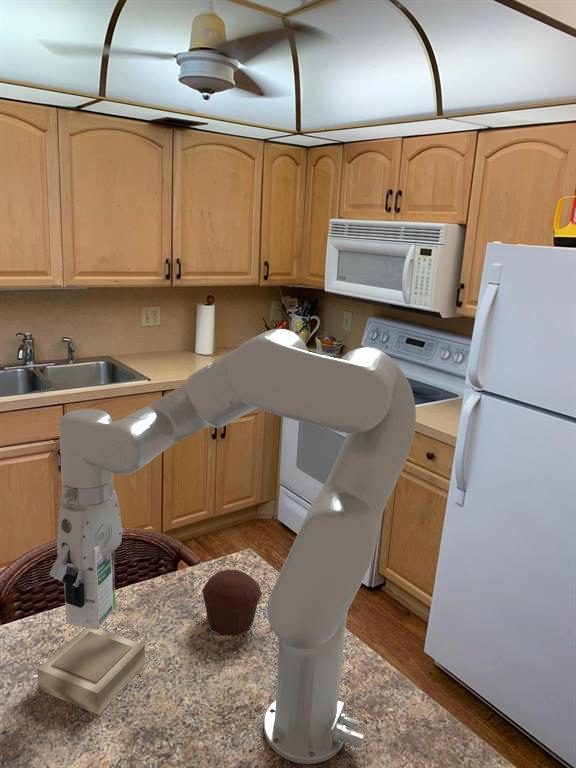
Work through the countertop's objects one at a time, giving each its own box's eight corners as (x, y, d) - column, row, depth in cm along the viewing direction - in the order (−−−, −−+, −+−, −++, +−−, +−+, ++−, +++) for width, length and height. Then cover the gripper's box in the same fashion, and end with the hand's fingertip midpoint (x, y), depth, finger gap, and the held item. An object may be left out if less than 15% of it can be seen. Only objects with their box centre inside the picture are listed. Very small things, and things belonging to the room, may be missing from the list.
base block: (144, 664, 100) (144, 643, 99) (98, 715, 89) (98, 692, 88) (89, 644, 104) (88, 624, 103) (38, 689, 93) (37, 667, 92)
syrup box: (98, 631, 90) (96, 548, 87) (64, 624, 92) (61, 542, 88) (116, 609, 96) (115, 530, 92) (83, 603, 97) (81, 525, 93)
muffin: (190, 616, 113) (191, 571, 111) (236, 596, 120) (238, 554, 118) (224, 650, 105) (225, 601, 102) (271, 626, 112) (274, 581, 109)
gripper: (66, 518, 79) (70, 631, 84) (142, 475, 95) (142, 571, 99) (25, 506, 82) (30, 616, 86) (105, 466, 97) (106, 560, 102)
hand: (90, 591), depth 93 cm, fingers closed on syrup box, 6 cm apart
